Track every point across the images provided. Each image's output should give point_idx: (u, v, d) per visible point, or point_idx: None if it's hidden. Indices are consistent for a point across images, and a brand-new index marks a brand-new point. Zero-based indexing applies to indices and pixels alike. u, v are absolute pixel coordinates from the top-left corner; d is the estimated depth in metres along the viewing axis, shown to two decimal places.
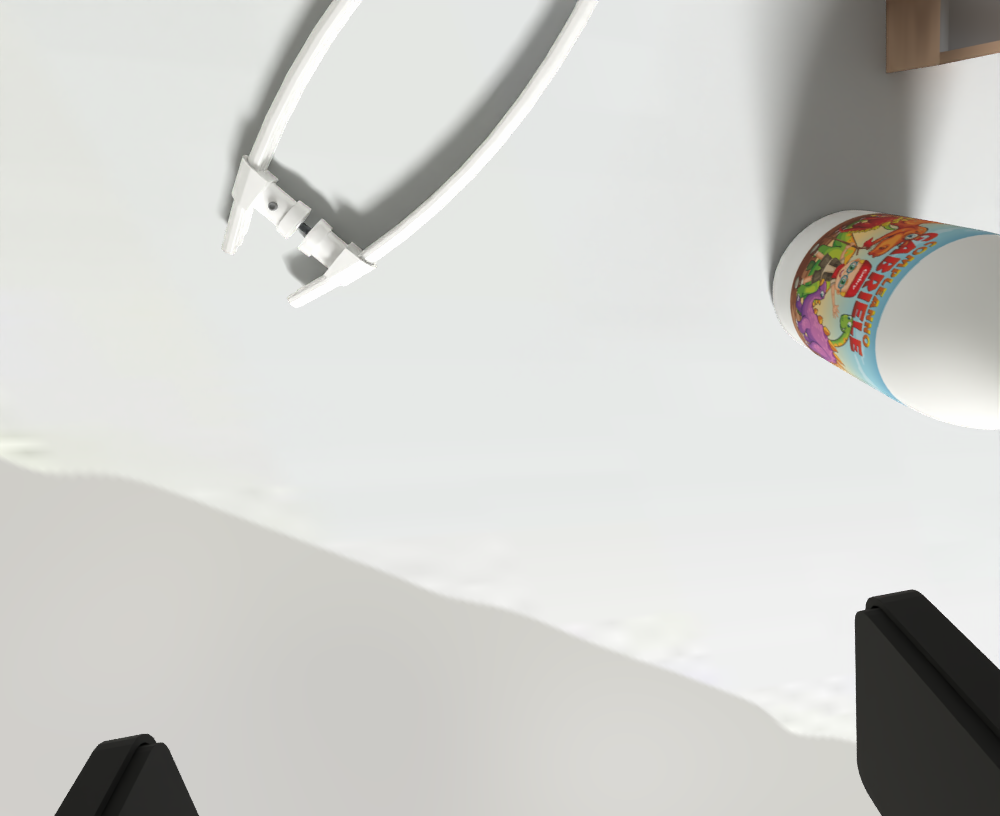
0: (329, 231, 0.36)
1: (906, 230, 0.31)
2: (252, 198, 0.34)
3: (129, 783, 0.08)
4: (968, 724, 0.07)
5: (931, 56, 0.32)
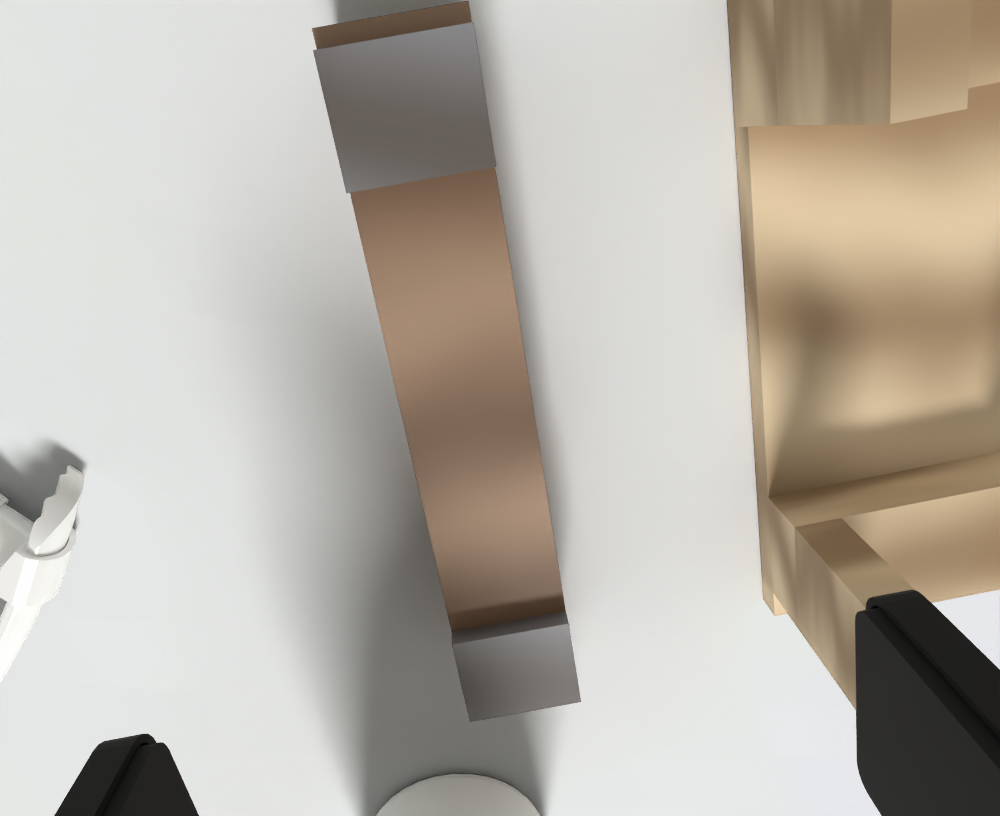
0: None
1: None
2: None
3: (129, 783, 0.08)
4: (968, 724, 0.07)
5: None
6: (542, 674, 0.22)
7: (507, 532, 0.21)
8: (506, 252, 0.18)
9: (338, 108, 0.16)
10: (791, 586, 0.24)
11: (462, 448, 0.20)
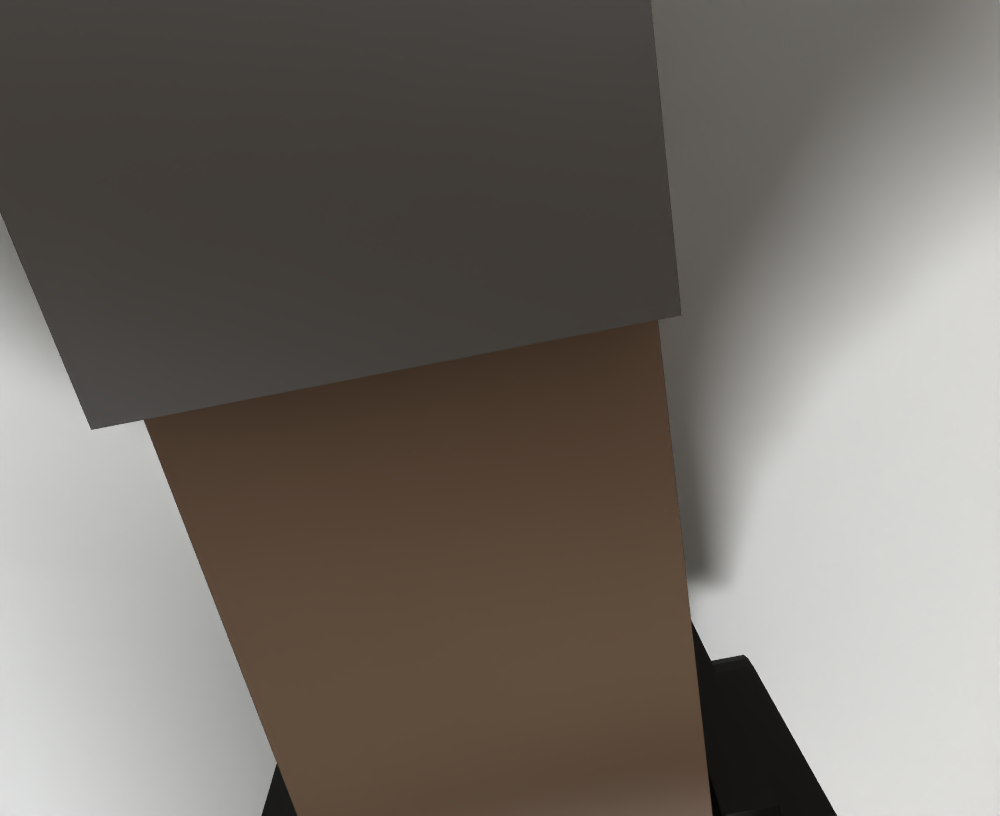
0: None
1: None
2: None
3: None
4: None
5: None
6: None
7: None
8: (677, 561, 0.05)
9: (3, 94, 0.04)
10: None
11: None
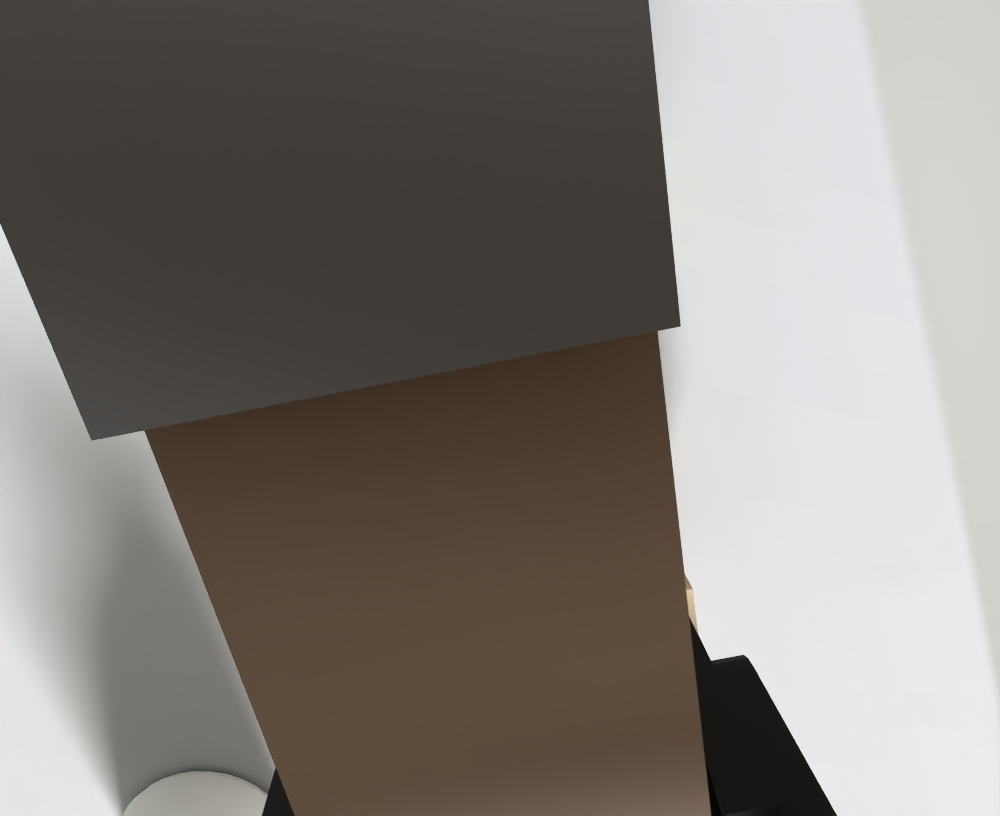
0: None
1: None
2: None
3: None
4: None
5: None
6: None
7: None
8: (676, 569, 0.06)
9: (3, 107, 0.04)
10: None
11: None
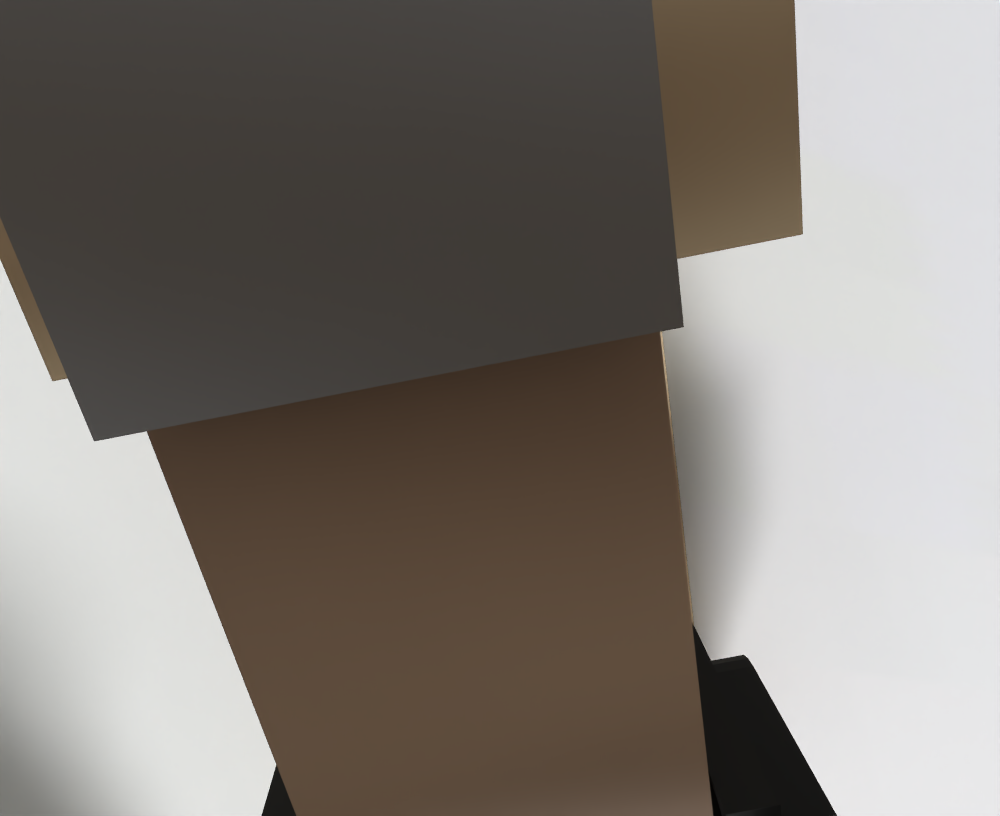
0: None
1: None
2: None
3: None
4: None
5: None
6: None
7: None
8: (679, 569, 0.05)
9: (6, 108, 0.04)
10: None
11: None
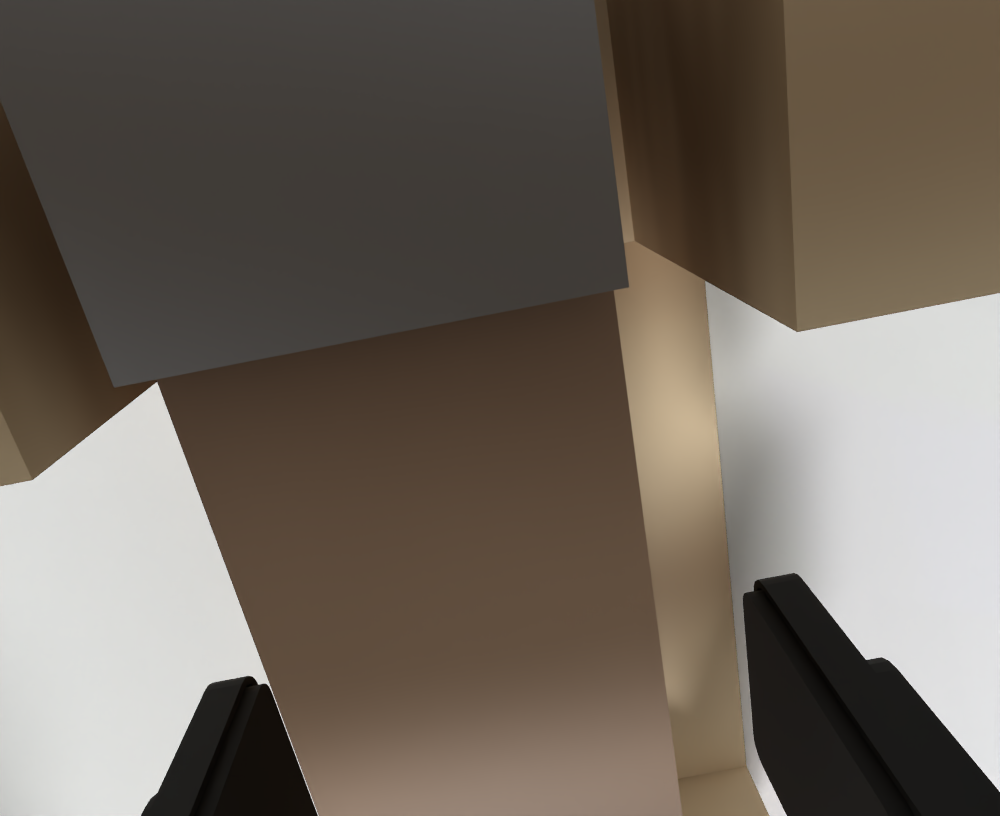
0: None
1: None
2: None
3: (244, 717, 0.09)
4: (817, 691, 0.08)
5: None
6: None
7: None
8: (637, 514, 0.06)
9: (42, 94, 0.04)
10: None
11: None
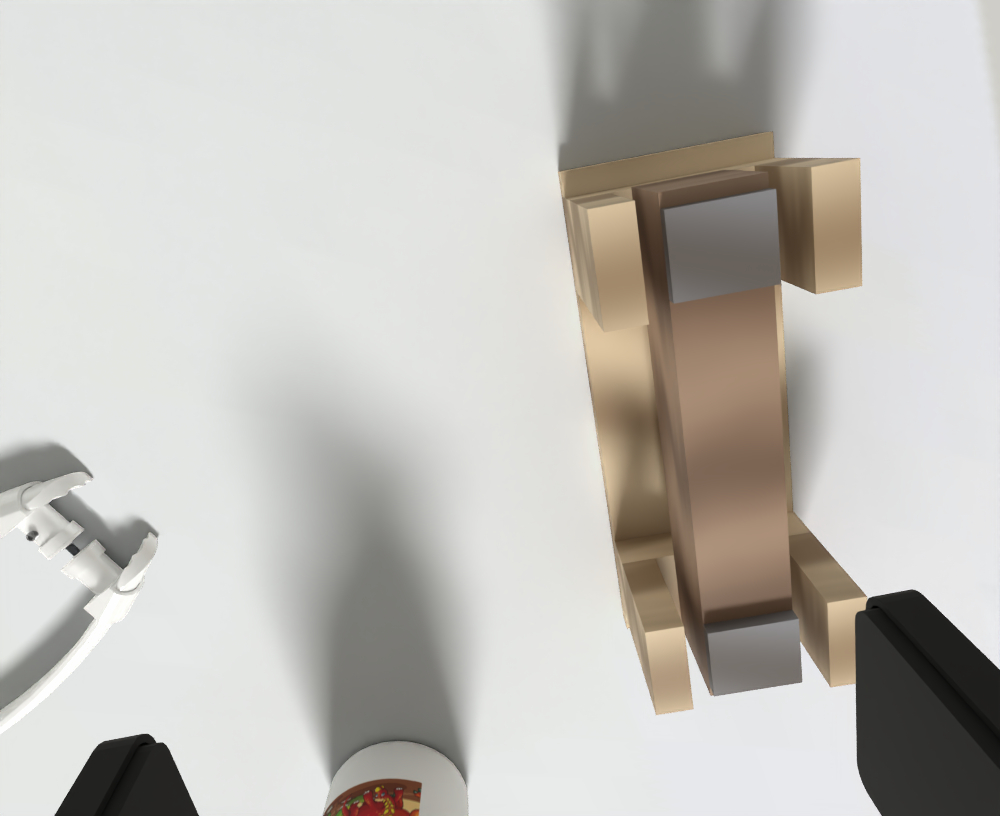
0: None
1: None
2: None
3: (129, 783, 0.08)
4: (968, 724, 0.07)
5: (705, 678, 0.30)
6: (774, 658, 0.28)
7: (754, 547, 0.27)
8: (775, 341, 0.25)
9: (676, 247, 0.23)
10: (627, 606, 0.34)
11: (727, 483, 0.26)
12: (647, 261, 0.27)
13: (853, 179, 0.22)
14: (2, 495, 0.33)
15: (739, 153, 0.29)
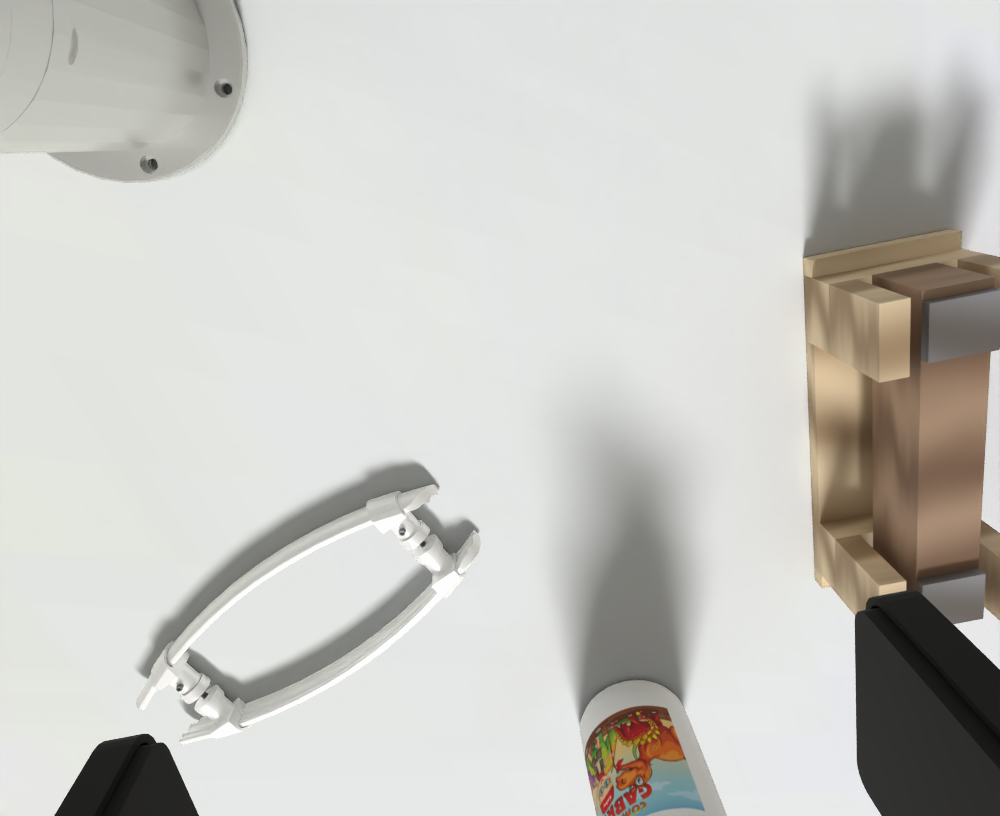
0: (220, 701, 0.48)
1: (640, 767, 0.44)
2: (164, 685, 0.47)
3: (129, 783, 0.08)
4: (968, 724, 0.07)
5: None
6: (966, 602, 0.40)
7: (957, 524, 0.39)
8: (987, 385, 0.37)
9: (934, 327, 0.35)
10: (832, 570, 0.46)
11: (944, 481, 0.38)
12: None
13: None
14: (381, 501, 0.44)
15: (937, 246, 0.41)
